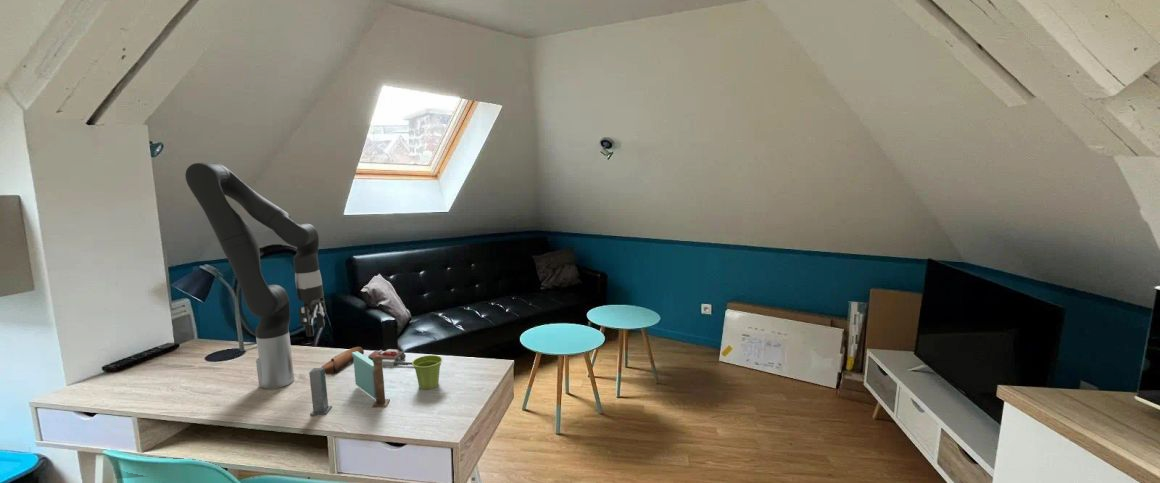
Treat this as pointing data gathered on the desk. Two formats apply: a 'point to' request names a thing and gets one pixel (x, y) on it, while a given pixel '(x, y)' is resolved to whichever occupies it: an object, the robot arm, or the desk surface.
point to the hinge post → (379, 383)
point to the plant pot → (427, 371)
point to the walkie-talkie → (390, 357)
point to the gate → (364, 373)
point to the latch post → (319, 392)
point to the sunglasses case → (341, 361)
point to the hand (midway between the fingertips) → (315, 331)
